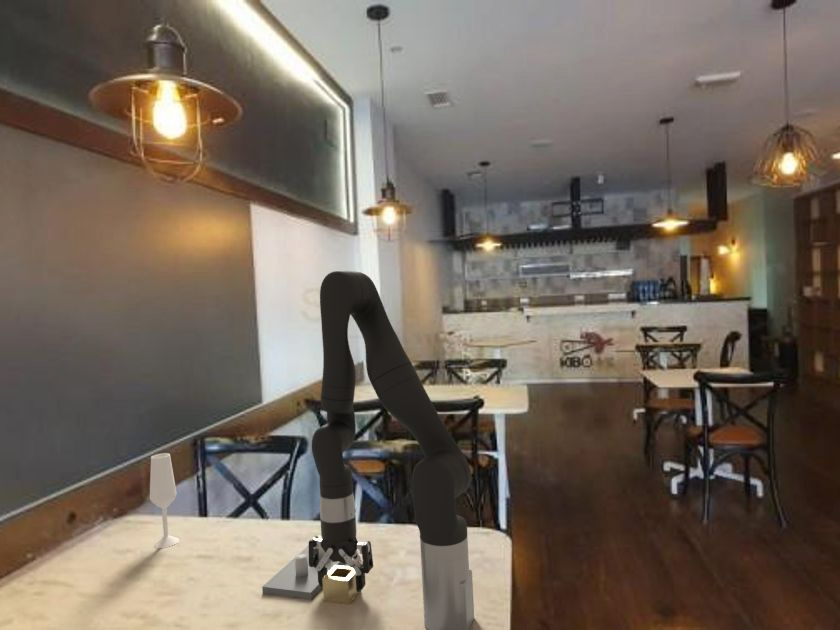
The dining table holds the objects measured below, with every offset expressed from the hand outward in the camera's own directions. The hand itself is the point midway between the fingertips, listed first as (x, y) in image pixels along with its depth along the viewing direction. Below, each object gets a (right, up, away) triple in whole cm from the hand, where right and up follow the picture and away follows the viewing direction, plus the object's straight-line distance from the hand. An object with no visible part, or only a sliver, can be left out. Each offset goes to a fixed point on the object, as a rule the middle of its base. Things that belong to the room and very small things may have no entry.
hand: (342, 587), depth 124 cm
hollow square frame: (0, -2, 0) cm, 2 cm away
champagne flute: (-52, -3, +33) cm, 62 cm away
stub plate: (-9, -2, +12) cm, 15 cm away
